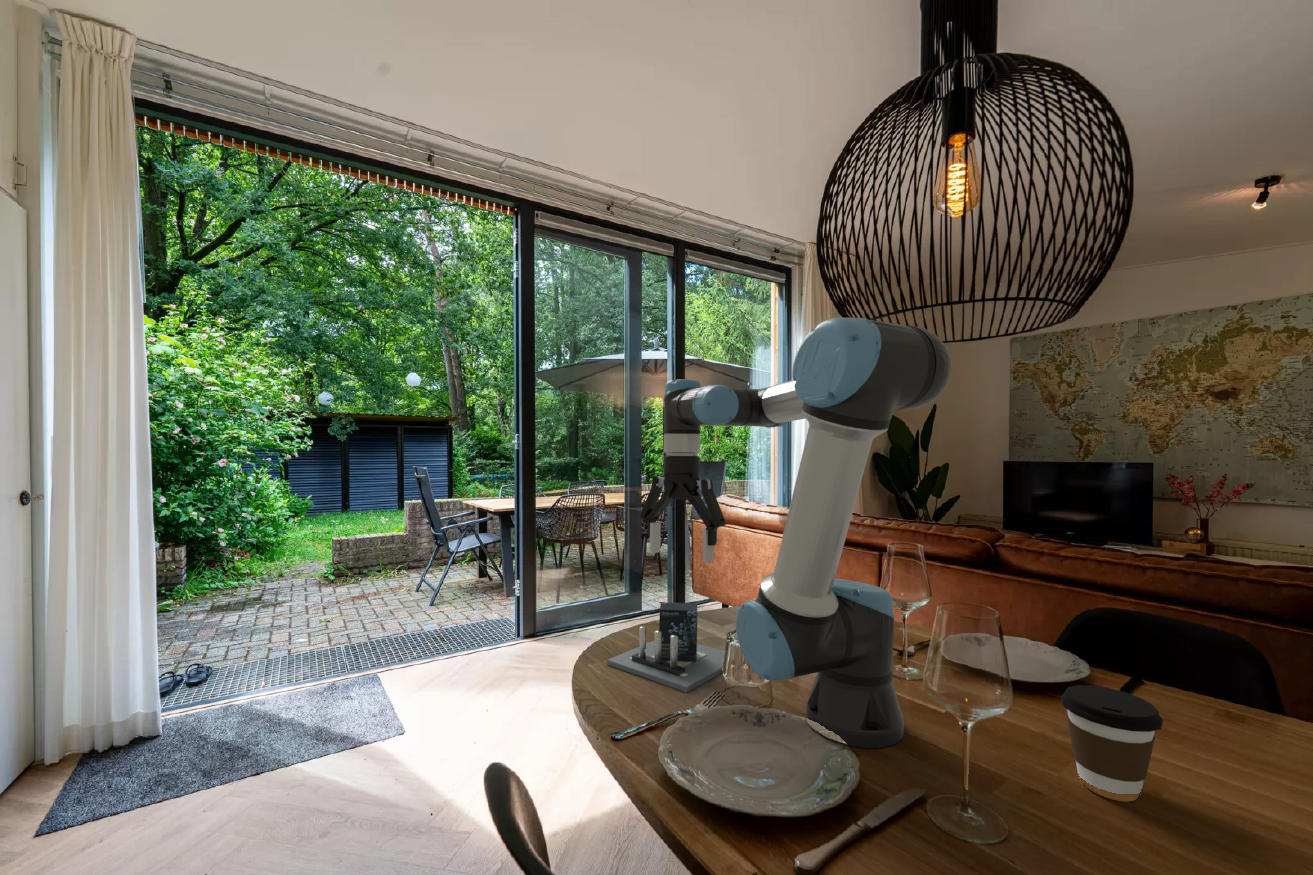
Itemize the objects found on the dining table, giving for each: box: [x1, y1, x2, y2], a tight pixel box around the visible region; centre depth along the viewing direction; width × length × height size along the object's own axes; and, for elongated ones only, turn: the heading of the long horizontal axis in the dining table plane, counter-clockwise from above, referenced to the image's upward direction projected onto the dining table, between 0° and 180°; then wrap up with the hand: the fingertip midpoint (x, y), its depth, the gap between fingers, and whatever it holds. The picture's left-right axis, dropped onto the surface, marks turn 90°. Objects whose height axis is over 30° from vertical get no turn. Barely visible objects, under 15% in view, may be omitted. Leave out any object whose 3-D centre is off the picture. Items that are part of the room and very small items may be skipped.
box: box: [658, 601, 698, 662], centre depth 122 cm, size 8×6×11 cm
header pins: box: [632, 625, 685, 676], centre depth 117 cm, size 12×2×7 cm, turn 51°
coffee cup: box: [1060, 684, 1164, 794], centre depth 79 cm, size 11×11×12 cm
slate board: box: [606, 639, 726, 693], centre depth 122 cm, size 20×20×1 cm
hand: (680, 557), depth 122 cm, fingers open, 13 cm apart
